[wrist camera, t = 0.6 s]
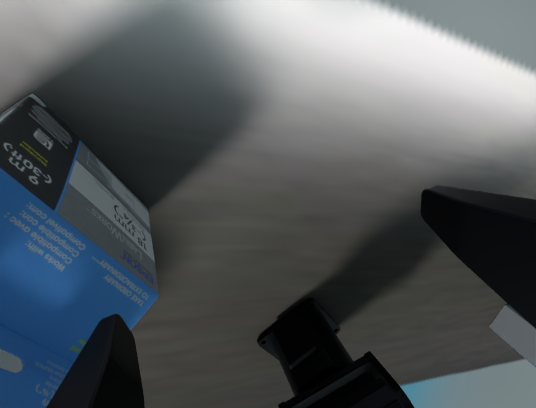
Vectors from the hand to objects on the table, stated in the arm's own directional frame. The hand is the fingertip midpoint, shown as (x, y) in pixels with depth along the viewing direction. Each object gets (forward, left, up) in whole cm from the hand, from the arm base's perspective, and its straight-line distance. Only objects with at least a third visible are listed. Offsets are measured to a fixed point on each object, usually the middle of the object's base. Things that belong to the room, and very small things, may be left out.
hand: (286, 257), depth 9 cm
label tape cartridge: (+2, +7, -14) cm, 16 cm away
